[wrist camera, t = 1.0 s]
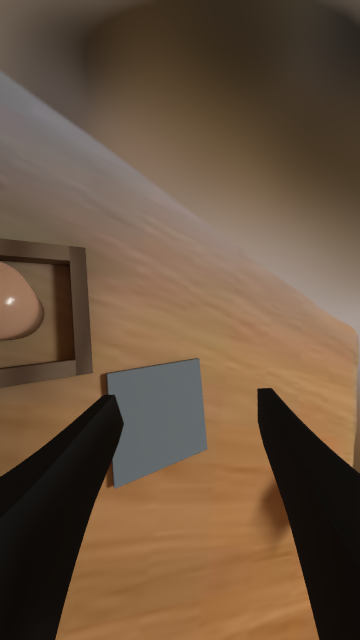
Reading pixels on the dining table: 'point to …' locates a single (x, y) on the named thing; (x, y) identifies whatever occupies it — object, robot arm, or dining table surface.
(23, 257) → the frame
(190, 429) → the rubber mat
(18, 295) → the terracotta cylinder
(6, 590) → the robot arm
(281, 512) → the dining table surface
